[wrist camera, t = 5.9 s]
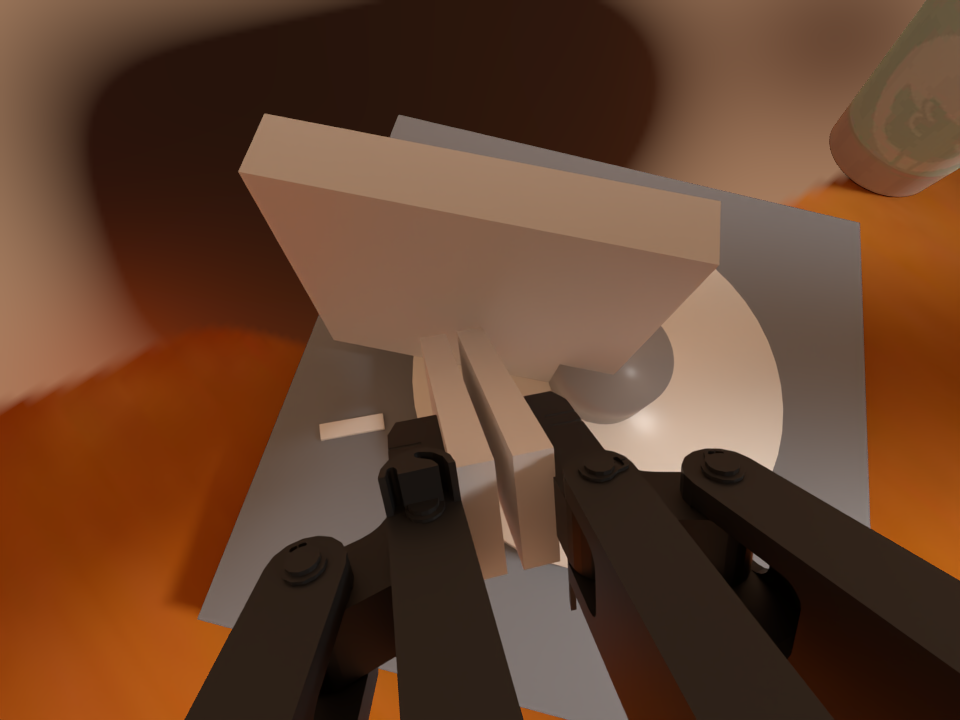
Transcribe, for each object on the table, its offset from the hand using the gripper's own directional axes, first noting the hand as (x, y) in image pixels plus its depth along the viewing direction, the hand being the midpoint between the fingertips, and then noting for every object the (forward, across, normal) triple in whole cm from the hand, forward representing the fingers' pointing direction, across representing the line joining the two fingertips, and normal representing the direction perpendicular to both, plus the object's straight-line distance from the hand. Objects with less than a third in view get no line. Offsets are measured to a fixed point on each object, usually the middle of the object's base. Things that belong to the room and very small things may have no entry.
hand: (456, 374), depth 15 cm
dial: (+4, +4, -3) cm, 6 cm away
